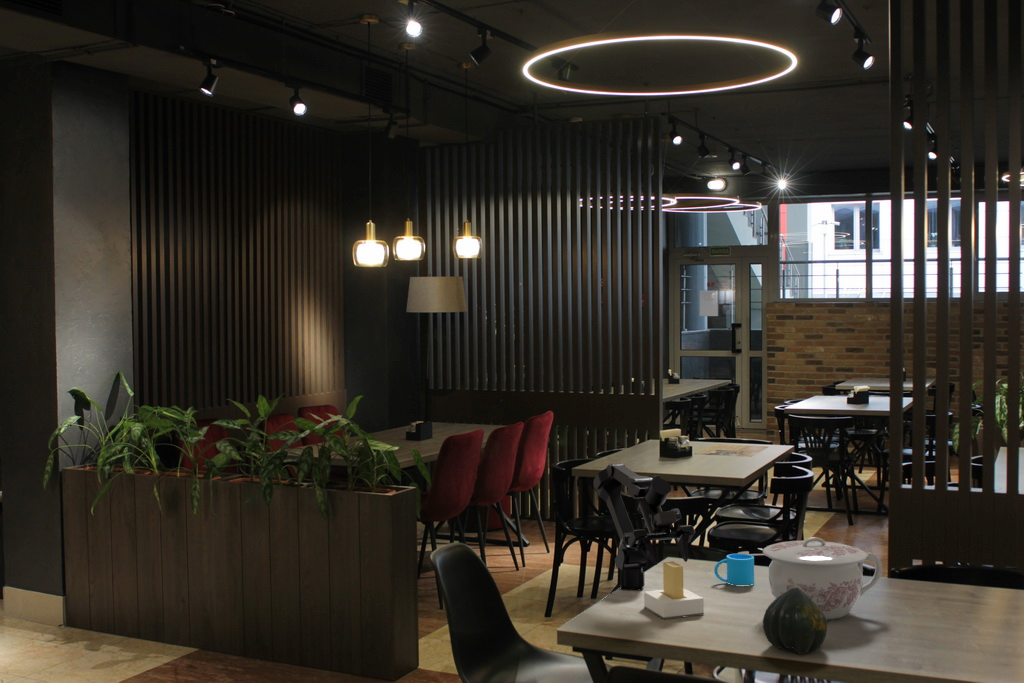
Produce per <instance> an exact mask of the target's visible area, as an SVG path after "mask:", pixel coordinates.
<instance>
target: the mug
mask: <svg viewBox="0 0 1024 683" xmlns="http://www.w3.org/2000/svg"><path fill="white" fill-rule="evenodd" d="M723 563H726V578H723V577H722V576H720V575H719V572H718V569H719V567H720V565H722V564H723ZM714 575H715V576H716V578H717V579H719V580H720V581H721V582H725V583H727V582H728V583H730V584H733V585H751V584H754V585H755V556H753V555H751V554H747V553H731V554H727V555H726V558H724V559H721V560H719V561H718V562H717V563H716V564H715V566H714Z"/></svg>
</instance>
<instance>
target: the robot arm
mask: <svg viewBox="0 0 1024 683" xmlns="http://www.w3.org/2000/svg"><path fill="white" fill-rule="evenodd" d="M623 485H624V486H625V487H626V488H627V493H628V494H629V495H630V496H631V497H632V499H640V501H639V503H638V506H637V512H641V514H642V517H643V519H644V524H643V526H644V528H641V529H634V527H633V525H632V522H631V519H630V517H629V513H628V512H627V509H626V506H625V503H624V501H623V498H622V492H623ZM593 488H594V490H595V491H596V493H597V496H598V497H599V498H600V499H601V500H603V501H605V502H606V504H607V508H608V510H609V513H610V515H611V518H612V521H613V524H614V527H615V529H616V532H617V535H618V538H619V541H620V542H619V546H618V553H617V554H616V557H615V558H614V563H615V567H616V568H618V569H619V570H620V586H619V589H620V588H621V589H620V590H625V591H626V590H628V591H629V590H631V591H642V590H643V587H645V583H646V582H645V571H643V568H648V566H649V561H650V562H651V563H652V564H654V565H655V566H657V565H658V559H657V557H656V556H657V555H656V554H655V551H654V549H653V546H652V543H651V541H663V540H672V539H674V541H675V543H677V544H676V548H677V549H678V552H679V553H680V556H681V558H682V559H683V561H684V563H687V561H688V558H689V557H688V555H689V554H688V553H689V552H688V546H689V545H688V543H689V544H690V543H691V541H692V539H693V537H694V535H695V534H696V530H695V528H694V526H693V525H691V524H689V525H688V524H687V525H678V528H677V530H676V531H671V529H673V528H674V525H673V524H675V523H677V522H679V521H680V520H681V519H682V514H681V511H680V509H679V508H672V509H671V510H668V511H663V508H662V507H661V506H663V505H664V504H665V502H666V500H667V499H668V496H669V495H670V493H671V491H672V486H671V484H670V483H669V482H668V481H667V480H665V479H663V478H662V477H661V476H660V475H654V476H652V477H650V476H645V475H639V474H638V473H636V472H634V471H632V470H631V469H629V468H628V467H627V466H626V465H625V464H624V463H622V462H620V463H617V462H616V463H610V464H607V466H606V468H604V469H602V470H601V471H599V472H598V473H597V474H596V475H595V477H594V479H593ZM645 528H647V529H645Z"/></svg>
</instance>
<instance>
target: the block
mask: <svg viewBox="0 0 1024 683" xmlns="http://www.w3.org/2000/svg"><path fill="white" fill-rule="evenodd" d="M662 567H663V568H662V571H663V572H662V574H663V577H662V579H663V580H662V581H663V582H662V583H663V585H662V586H663V590H664V595H666V596H667V597H669V598H671V599H681V598H684V590H683V588H684V566H683V565H681V564H680V563H677V562H675V561H672V560H671V561H664V562H663V561H662Z"/></svg>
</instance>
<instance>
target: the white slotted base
mask: <svg viewBox="0 0 1024 683" xmlns="http://www.w3.org/2000/svg"><path fill="white" fill-rule="evenodd" d="M683 590H684V598H681V599H671V598H669V597H667V596H666V595H664V589H657V590H656V589H655V590H647V591H643V594H644V595H643V602H644V603H643V605H644V607H643V608H644V609H646V610H647V609H648V610H647V611H649V612H650V613H652V612H653V613H652V614H654V615H656V616H657V615H658V616H657V617H659V616H660V617H659V618H661V619H662V618H663V620H668V619H667V618H671V619H675V618H674V617H680V618H684V617H683V616H688V617H694V616H693V615H697V616H703V615H702V614H705V613H704V610H705V608H704V607H705V606H704V597H702V596H700V595H698V594H697V593H694V592H692V591H690V590H688V589H686V588H685V587H683Z"/></svg>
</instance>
